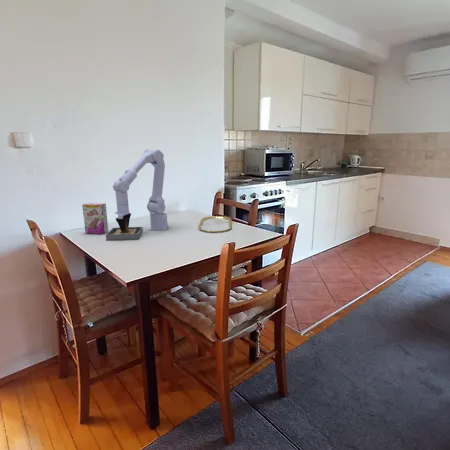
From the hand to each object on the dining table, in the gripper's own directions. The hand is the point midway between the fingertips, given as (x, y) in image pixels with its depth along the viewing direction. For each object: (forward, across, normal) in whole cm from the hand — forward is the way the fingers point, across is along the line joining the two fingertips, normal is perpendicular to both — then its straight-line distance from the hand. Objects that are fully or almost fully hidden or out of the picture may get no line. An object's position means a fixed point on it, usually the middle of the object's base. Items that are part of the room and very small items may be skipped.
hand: (124, 229), depth 172 cm
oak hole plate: (+4, 0, 0) cm, 4 cm away
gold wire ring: (+5, -19, +49) cm, 52 cm away
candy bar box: (+4, -8, -17) cm, 19 cm away
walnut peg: (+3, 0, 0) cm, 3 cm away
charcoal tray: (+4, 0, 0) cm, 4 cm away
